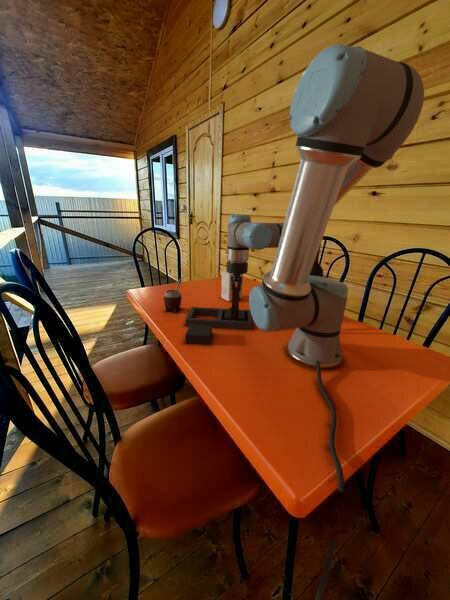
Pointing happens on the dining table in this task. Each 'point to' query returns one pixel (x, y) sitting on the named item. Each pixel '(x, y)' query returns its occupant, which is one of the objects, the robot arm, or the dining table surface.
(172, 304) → the mate gourd
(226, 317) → the pad
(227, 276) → the small box
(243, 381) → the dining table surface
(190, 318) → the frame
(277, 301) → the robot arm
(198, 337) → the pad
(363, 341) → the dining table surface
